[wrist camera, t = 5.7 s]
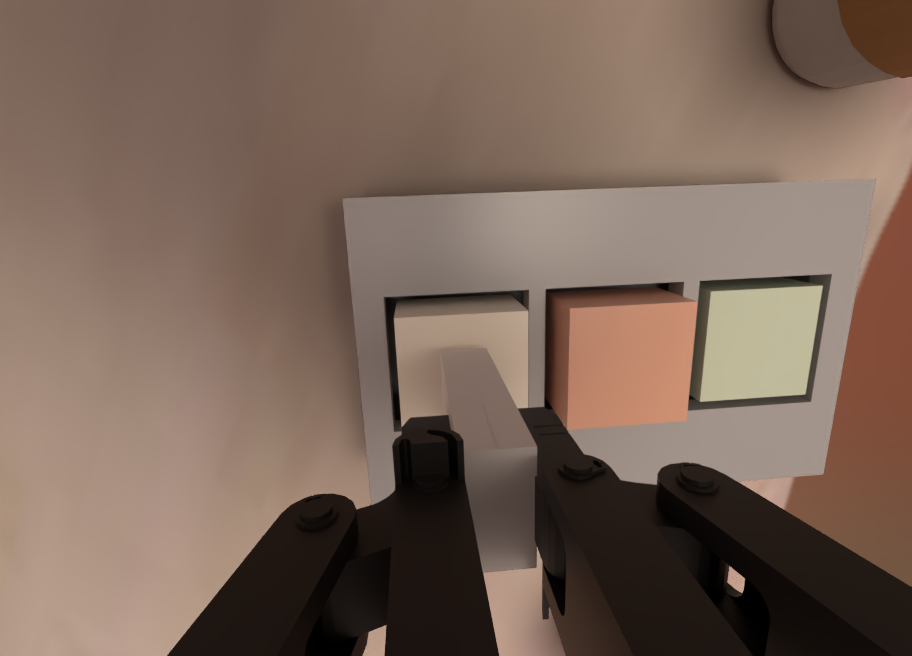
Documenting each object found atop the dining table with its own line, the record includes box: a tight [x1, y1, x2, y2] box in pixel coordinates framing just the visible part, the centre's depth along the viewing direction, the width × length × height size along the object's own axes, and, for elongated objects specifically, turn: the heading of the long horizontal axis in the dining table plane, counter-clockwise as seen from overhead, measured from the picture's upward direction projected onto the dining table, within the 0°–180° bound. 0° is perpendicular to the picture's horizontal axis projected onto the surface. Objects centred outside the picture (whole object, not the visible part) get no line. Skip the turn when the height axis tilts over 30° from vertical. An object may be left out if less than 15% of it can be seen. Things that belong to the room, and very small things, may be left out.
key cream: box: [394, 294, 528, 426], centre depth 17 cm, size 4×4×3 cm
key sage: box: [668, 277, 823, 402], centre depth 20 cm, size 4×4×3 cm
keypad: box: [342, 179, 876, 505], centre depth 20 cm, size 12×19×5 cm, turn 92°
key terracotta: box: [545, 287, 698, 430], centre depth 18 cm, size 4×4×3 cm
